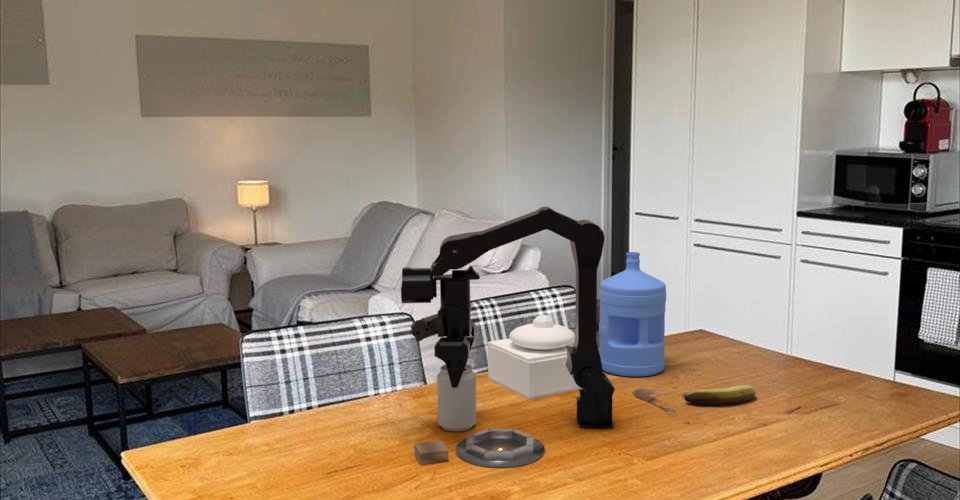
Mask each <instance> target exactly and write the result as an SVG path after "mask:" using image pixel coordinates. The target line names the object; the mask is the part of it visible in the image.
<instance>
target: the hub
mask: <svg viewBox="0 0 960 500" xmlns="http://www.w3.org/2000/svg"><path fill="white" fill-rule="evenodd" d="M545 451H546V448H545V445H544V443H543V442H541V440H539V439H537V438H535V436H534V435H532V434H529V433H527V432H523V431H522V430H521V431H520V430H518V429H516V428H486V429H484V430H481V431H478V432H475V433H470V434H468V436H467V437H466V438H464V439H463V440H461V441H459V442H458V443H457V444H456V446H455V454H456V455H457V457H458V458H459V459H461V460H462V461H464V462H465V463H468V464H471V465H475V466H478V467H483V468H491V469H509V468H517V467H523V466H526V465H527V466H528V465H530V464H532V463H535V462H537V461H539V460H540V459H541V458H543V456H544V455H545V453H546V452H545Z"/></svg>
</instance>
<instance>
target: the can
mask: <svg viewBox="0 0 960 500" xmlns="http://www.w3.org/2000/svg"><path fill="white" fill-rule="evenodd" d="M439 369H440V371H439V372H438V373H437V376H436V385H437V388H436V389H437V394H436V395H437V424H438V425H439V426H440V427H441V428H443V430H445V431H449V432H463V431H464V432H465V431H468V430H470V429H472V428H473V426H475V424H477V384H476V383H477V380H476V379H477V374H476V373H475V372H474V371H473V366H472V365H470V364H468V363H466V366H465V368H464V371H463V374H462V377H461V379H460V382H459V385H458V387H457V388H452V386H451V382H450V379H449V375H448V371H447V367H446V364H444V365H442V366H440V368H439Z"/></svg>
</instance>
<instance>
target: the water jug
mask: <svg viewBox="0 0 960 500" xmlns="http://www.w3.org/2000/svg"><path fill="white" fill-rule="evenodd" d="M625 255H626V260H625V261H626V262H625V263H626V267H625V269H624V270H623V271H621V272H618V273H616V274H614V275H611V276H610V277H607V278H606V279H603V280H602V281H601V282H600V284H599V293H598V296H599V323H598V335H599V346H598V349H599V354H600V358H601V363H602V369H603V372H604V373H608V374H612V375H613V376H614V375H615V376H621V377H630V378H633V377H634V378H639V377H643V378H644V377H651V376H654V375H658V374H660V373H662V372H663V371H664V370H665V367H666V359H665V348H666V347H665V333H666V332H665V330H666V329H665V326H666V323H665V317H666V316H665V315H666V302H667V290H666V289H667V285H666V282H664V281H662V280H660V279H658V278H656V277H654V276H652V275H650V274H648V273H646V272H644V271H642V270H641V268H640V263H641V260H640V255H641V253H640V252H635V251H634V252H633V251H628V252H626V254H625Z"/></svg>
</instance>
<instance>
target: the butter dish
mask: <svg viewBox="0 0 960 500" xmlns="http://www.w3.org/2000/svg"><path fill="white" fill-rule="evenodd" d="M575 337H576V333H575V332H574V331H573V330H572V329H570V328H568V327H566V326H563V325H561V324H555V323H554V319H552V318H551V317H550V316H549V315H547V314H540V315H537V316H536V317H535V318H534V319H533V321H532V323H529V324H524V325H520V326H518V327H515V328H514V329H512V331H511V332H510V333H509V338H504V339H498V340H492V341H487V361H488V362H487V363H488V367H487V369H488V370H487V371H488V377H487V378H488V379H489V380H490V381H492V382H494V383H496V384H498V385H500V386H502V387H503V388H506V389H508V390H510V391H512V392H514V393H516V394H518V395H520V396H522V397H524V398H525V399H528V400H532V399H538V398H543V397H547V396H553V395H559V394H562V393H563V394H564V393H567V392H572V391H578V390H580V389H582V388H580V387H579V386H578V385H577V384H576V383H575V381H574V379H573V377H572V375H570V373H569V371H568V369H567V367H566V365H565V364H566V362H567V351H566V346H570V347H573V344H574V341H575Z"/></svg>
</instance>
